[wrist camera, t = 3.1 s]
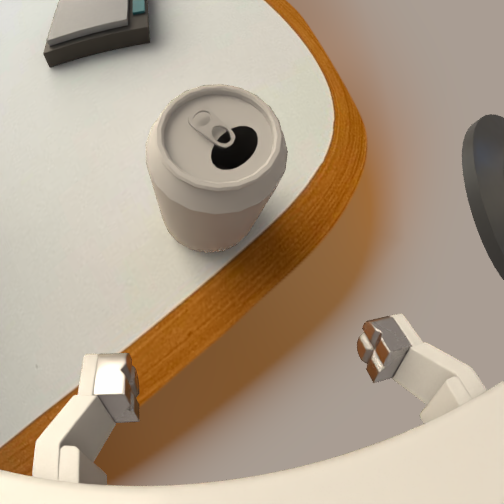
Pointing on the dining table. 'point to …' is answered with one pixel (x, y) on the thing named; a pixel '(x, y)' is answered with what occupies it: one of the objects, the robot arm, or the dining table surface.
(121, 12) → the scale
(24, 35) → the dining table surface
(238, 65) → the dining table surface
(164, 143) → the can
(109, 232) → the dining table surface
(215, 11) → the dining table surface
